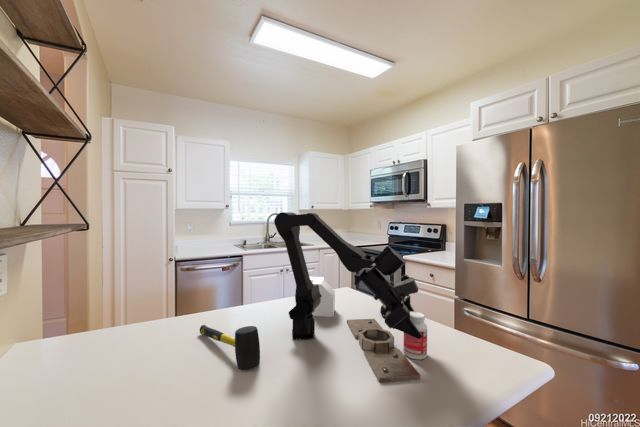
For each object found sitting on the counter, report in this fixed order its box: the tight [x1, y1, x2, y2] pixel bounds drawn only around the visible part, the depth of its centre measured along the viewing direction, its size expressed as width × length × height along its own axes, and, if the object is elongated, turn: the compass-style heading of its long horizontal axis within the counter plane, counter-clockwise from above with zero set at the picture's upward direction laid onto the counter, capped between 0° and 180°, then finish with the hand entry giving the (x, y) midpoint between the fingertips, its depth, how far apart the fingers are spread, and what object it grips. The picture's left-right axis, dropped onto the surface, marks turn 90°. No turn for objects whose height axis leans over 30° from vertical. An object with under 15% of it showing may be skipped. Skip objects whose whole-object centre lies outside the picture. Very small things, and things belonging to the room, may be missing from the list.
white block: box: [309, 276, 336, 318], centre depth 107 cm, size 11×11×12 cm
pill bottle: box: [402, 310, 428, 360], centre depth 75 cm, size 6×6×11 cm
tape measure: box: [379, 304, 387, 317], centre depth 102 cm, size 7×7×4 cm
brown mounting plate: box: [346, 318, 421, 383], centre depth 80 cm, size 34×10×3 cm, turn 7°
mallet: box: [199, 324, 261, 372], centre depth 77 cm, size 29×6×10 cm, turn 47°
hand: (420, 330), depth 74 cm, fingers open, 9 cm apart
